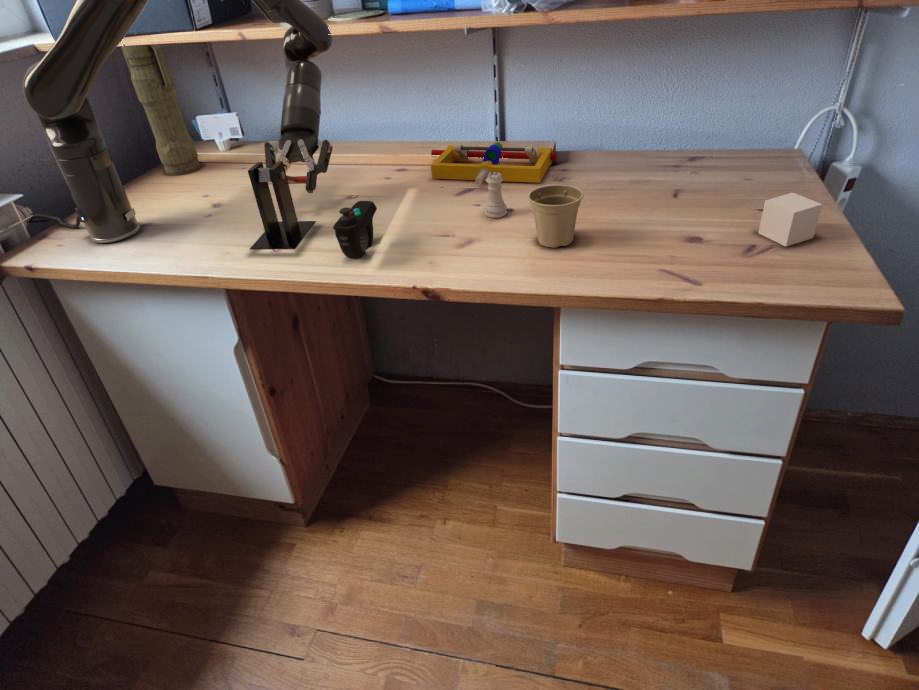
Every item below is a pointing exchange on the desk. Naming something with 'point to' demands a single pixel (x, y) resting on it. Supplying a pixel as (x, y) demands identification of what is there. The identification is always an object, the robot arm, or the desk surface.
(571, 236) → the flower pot
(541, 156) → the mechanical clamp
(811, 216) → the beige cube
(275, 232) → the bracket
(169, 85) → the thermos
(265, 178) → the lever
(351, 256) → the controller
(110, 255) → the desk surface
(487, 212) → the rook chess piece
